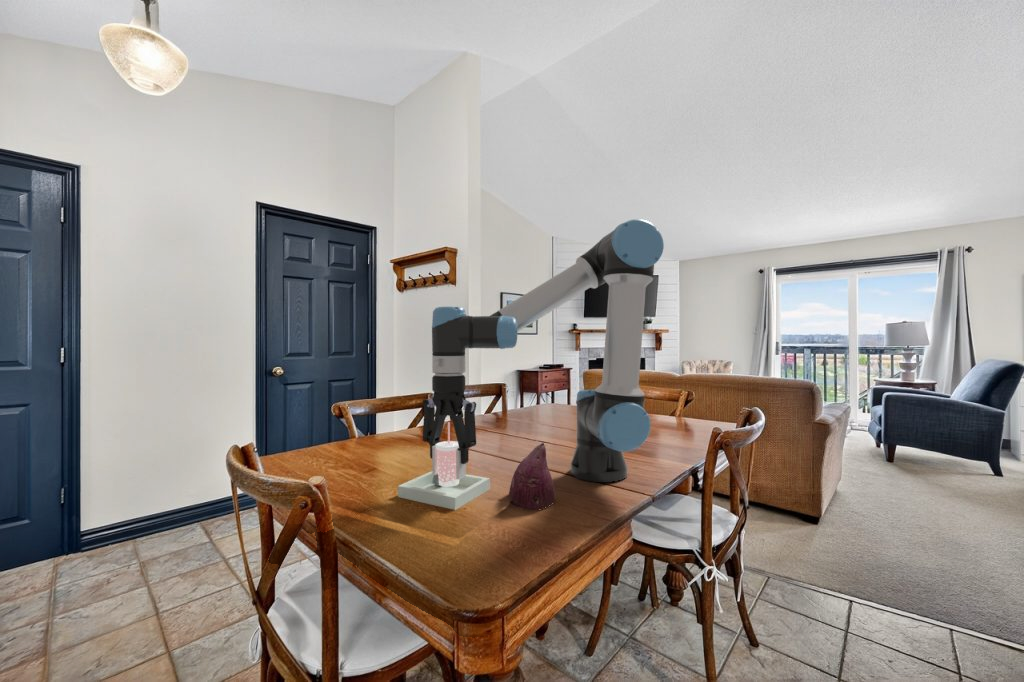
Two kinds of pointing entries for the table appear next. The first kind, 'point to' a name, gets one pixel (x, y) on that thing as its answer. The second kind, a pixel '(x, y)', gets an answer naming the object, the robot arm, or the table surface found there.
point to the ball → (436, 480)
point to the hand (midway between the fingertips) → (448, 475)
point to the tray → (444, 491)
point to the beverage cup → (447, 461)
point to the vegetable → (532, 482)
